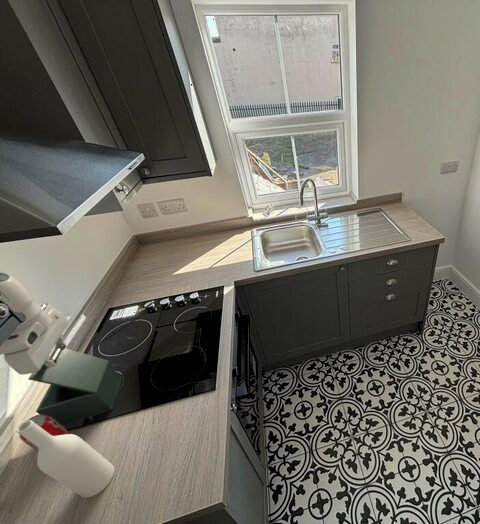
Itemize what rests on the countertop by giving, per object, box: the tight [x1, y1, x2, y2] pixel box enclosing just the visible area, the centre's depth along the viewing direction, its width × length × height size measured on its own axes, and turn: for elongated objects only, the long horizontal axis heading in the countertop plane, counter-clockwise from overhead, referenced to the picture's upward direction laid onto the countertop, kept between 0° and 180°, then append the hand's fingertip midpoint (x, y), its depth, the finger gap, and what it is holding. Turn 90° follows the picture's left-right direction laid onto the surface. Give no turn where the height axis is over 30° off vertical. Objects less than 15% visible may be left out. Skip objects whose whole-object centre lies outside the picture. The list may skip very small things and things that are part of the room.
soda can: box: [18, 414, 71, 452], centre depth 85 cm, size 7×7×12 cm
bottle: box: [16, 419, 115, 498], centre depth 72 cm, size 8×8×30 cm
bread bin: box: [35, 361, 123, 427], centre depth 97 cm, size 16×13×10 cm
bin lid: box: [27, 345, 109, 394], centre depth 91 cm, size 16×13×5 cm
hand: (58, 356), depth 87 cm, fingers closed on bin lid, 5 cm apart
